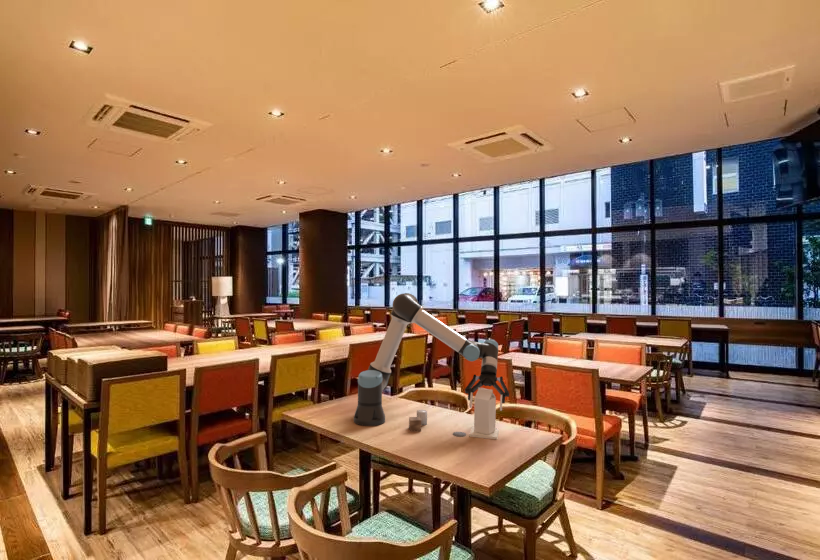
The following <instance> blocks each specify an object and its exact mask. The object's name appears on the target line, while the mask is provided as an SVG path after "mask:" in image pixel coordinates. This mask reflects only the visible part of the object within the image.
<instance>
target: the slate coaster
mask: <svg viewBox="0 0 820 560" xmlns="http://www.w3.org/2000/svg"><path fill="white" fill-rule="evenodd" d="M452 435H453V436H454V437H456V438H457V437H458V438H464V437H467V433H466V432H463V431H454V432H452Z"/></svg>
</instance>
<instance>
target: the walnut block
mask: <svg viewBox="0 0 820 560" xmlns="http://www.w3.org/2000/svg"><path fill="white" fill-rule="evenodd" d="M408 420H409V421H408V429H409V432H422V426H421V418H420V417H417V416H409V417H408Z"/></svg>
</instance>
